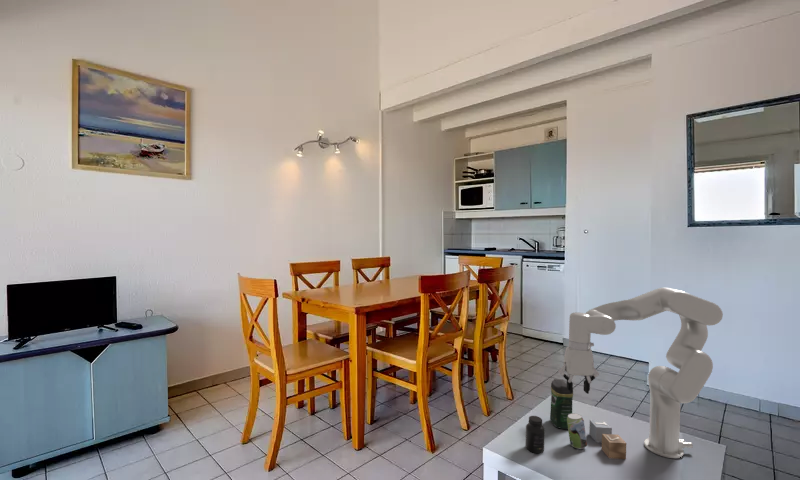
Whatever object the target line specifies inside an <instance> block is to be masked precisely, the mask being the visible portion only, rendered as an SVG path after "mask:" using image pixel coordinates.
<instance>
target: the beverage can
mask: <svg viewBox="0 0 800 480" xmlns="http://www.w3.org/2000/svg"><path fill="white" fill-rule="evenodd" d="M567 425H568V429H567V431H568V437H569V443H570V446H572V447H573V448H575V449H577V450H583V449H585V448H586V447H587V446H588V441H587V440H588V439H587V433H586V428H585V426H586V425H585V421H584V418H583V416H582V415H581V414H579V413H576V412H575V413H573V412H572V414H569V415H568V417H567Z"/></svg>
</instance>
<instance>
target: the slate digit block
mask: <svg viewBox="0 0 800 480" xmlns="http://www.w3.org/2000/svg"><path fill="white" fill-rule="evenodd" d="M588 433H589V436H590V437H591V438H592V439H593V440H594V442H595V443H602V434H613V428H612V426H611V425H609V423H608V422H607V421H606V420H599V419H589V432H588Z"/></svg>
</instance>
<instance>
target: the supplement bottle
mask: <svg viewBox="0 0 800 480" xmlns="http://www.w3.org/2000/svg"><path fill="white" fill-rule="evenodd" d="M545 429H546V428H545V427H544V426H543V419H542V418H541V417H540V416H537V415H530V416H529V417H528V422H527V424H526V425H525V444H524V445H525V449H526V450H527V451H528V453H531V454H534V455H541V454H543V453H544V452H545V436H546V432H545V431H546V430H545Z"/></svg>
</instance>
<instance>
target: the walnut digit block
mask: <svg viewBox="0 0 800 480" xmlns="http://www.w3.org/2000/svg"><path fill="white" fill-rule="evenodd" d="M601 450H602V452H604V454H605V455H606V456H607V458H609V459H616V460H617V459H618V460H626V459H627V442H626V441H625V440H624V439H623V438H622V437H621V436H620V435H619V434H615V433H614V434H613V433H612V434H602V442H601Z"/></svg>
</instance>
